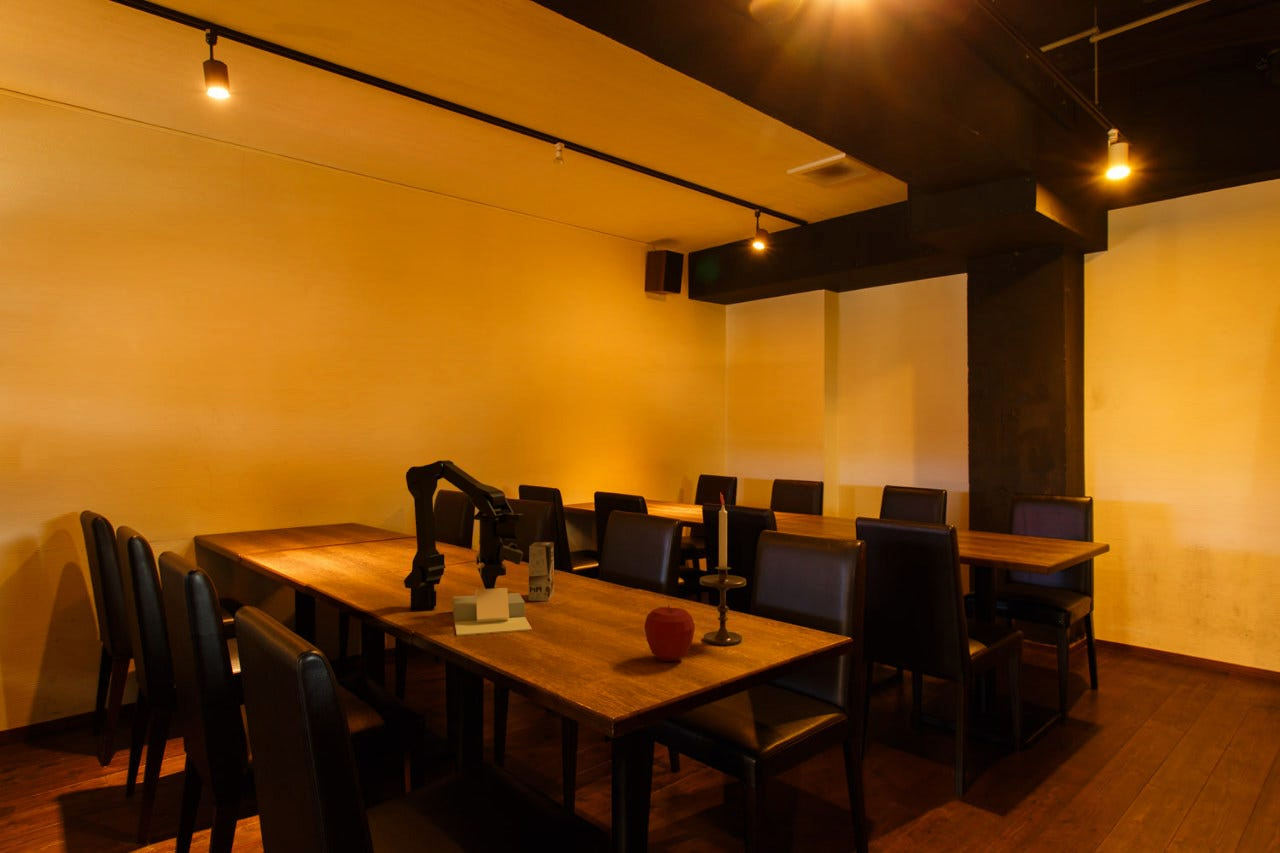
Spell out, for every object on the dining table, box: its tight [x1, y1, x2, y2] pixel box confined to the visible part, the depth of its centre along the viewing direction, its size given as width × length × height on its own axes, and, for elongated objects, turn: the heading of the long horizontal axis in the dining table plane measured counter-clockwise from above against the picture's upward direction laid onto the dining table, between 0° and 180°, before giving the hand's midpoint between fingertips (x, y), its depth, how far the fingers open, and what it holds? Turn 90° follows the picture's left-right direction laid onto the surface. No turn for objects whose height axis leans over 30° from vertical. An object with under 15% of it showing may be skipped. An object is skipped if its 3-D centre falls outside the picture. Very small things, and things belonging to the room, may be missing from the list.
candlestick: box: [699, 492, 747, 647], centre depth 164 cm, size 11×11×35 cm
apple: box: [644, 605, 696, 662], centre depth 149 cm, size 11×11×12 cm
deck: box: [452, 592, 526, 623], centre depth 187 cm, size 18×12×4 cm, turn 107°
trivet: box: [474, 587, 509, 623], centre depth 179 cm, size 8×8×2 cm
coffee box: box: [528, 541, 555, 602], centre depth 207 cm, size 9×6×16 cm
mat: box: [454, 616, 533, 637], centre depth 174 cm, size 18×12×1 cm, turn 107°
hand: (490, 596), depth 183 cm, fingers closed
